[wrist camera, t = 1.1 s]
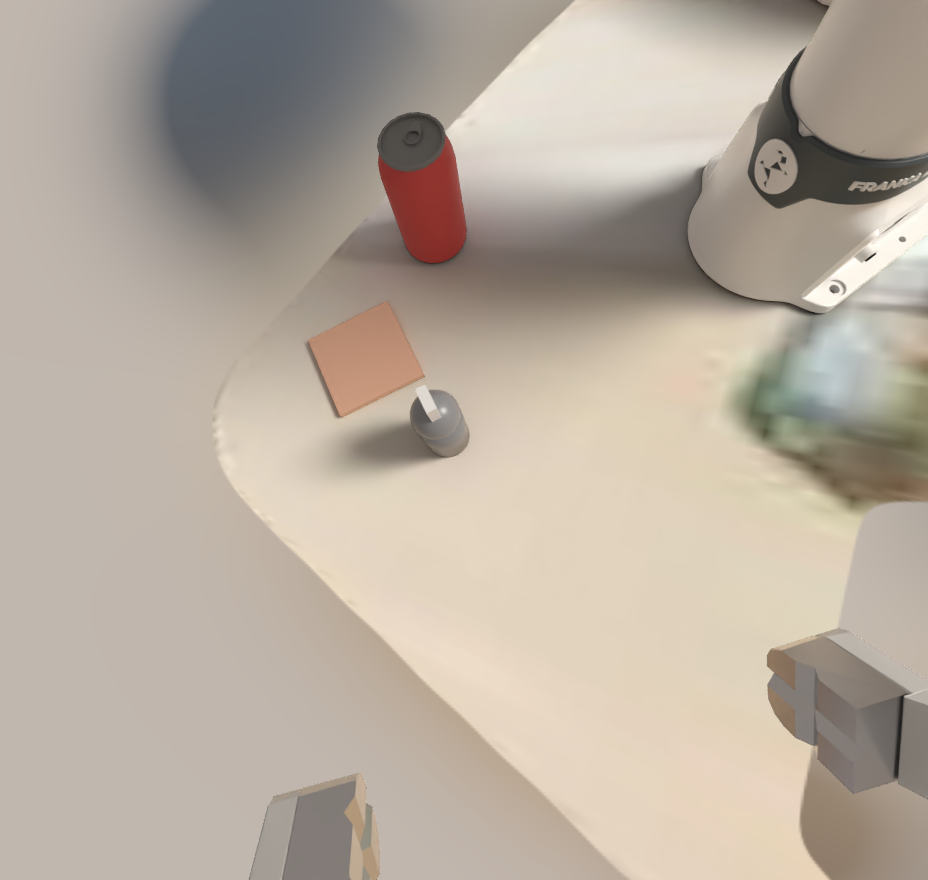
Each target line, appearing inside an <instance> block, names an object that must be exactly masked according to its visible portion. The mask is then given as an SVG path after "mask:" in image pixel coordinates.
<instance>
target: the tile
mask: <svg viewBox="0 0 928 880" xmlns="http://www.w3.org/2000/svg"><path fill="white" fill-rule="evenodd" d="M308 341H309V344H310V346H311V348H312V351H313V353H314V356H315V358H316V360H317V363H318V365H319V367H320V370H321V372H322V374H323V377H324V379H325V382H326V384H327V386H328V389H329V391H330V393H331V396H332V398H333V401H334V403H335V405H336V408H337V410H338V412H339V415H340V416H341V417H344V416H346V415H348V414H350V413H352V412H354V411H356V410H358V409H360V408H362V407H364V406H366V405H368V404H370V403H372V402H374V401H376V400H378V399H380V398H382V397H384V396H386V395H388V394H390V393H392V392H394V391H397V390H399V389H401V388H403V387H405V386H407V385H409V384H411V383H413V382H415V381H417V380H419V379H421V378H423V377H425V376H424V374H423V372H422V370H421V368H420V366H419V364H418V362H417V360H416V358H415V356H414V354H413V352H412V350H411V348H410V346H409V343H408V341H407V339H406V337H405V335H404V333H403V331H402V329H401V327H400V325H399V323H398V321H397V319H396V317H395V315H394V313H393V311H392V309H391V307H390V305H389V303H388V301H386V302H384V303H382V304H380V305H378V306H376V307H374V308H372V309H370V310H368V311H366V312H364V313H362V314H360V315H358V316H356V317H354V318H352V319H350V320H348V321H346V322H344V323H342V324H340V325H338V326H336V327H334V328H332V329H330V330H328V331H325V332H323V333H321V334H319V335H317V336H315V337H313V338H311V339H309V340H308Z"/></svg>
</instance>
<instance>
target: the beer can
mask: <svg viewBox="0 0 928 880" xmlns="http://www.w3.org/2000/svg"><path fill="white" fill-rule="evenodd" d="M377 148H378V152H379V159H378V165H379V172H380V175H381V179H382V182H383V185H384V188H385V190H386V193H387V196H388V199H389V201H390V204H391V207H392V210H393V212H394V215H395V218H396V221H397V223H398V226H399V229H400V232H401V234H402V237H403V240H404V243H405V245H406V248H407V249H408V251H409V252H410V254H411V255H412V256H414V257H415V258H417V259H418V260H420V261H423V262H427V263H439V262H443V261H446V260H448V259H450V258H452V257H453V256H455V255H456V254H457V253H458V252H459V251H460V249H461V248H462V247H463V244H464V242H465V240H466V231H467V229H466V223H465V216H464V210H463V203H462V197H461V190H460V184H459V177H458V171H457V164H456V158H455V154H454V151H453V147H452V145H451V143H450V140H449V139H448V137H447V136H446V134H445V131H444V128H443V126H442V124H441V123H440V122H439V121H438V120H437V119H436V118H434V117H432V116H431V115H428V114H424V113H420V112H415V113H407V114H403V115H400V116H398V117H396V118H395V119H393V120H391V121H390V122H389V123H388V124H387V125H386V126H385V127H384V128H383V129H382V131H381V134H380V136H379V138H378V144H377Z"/></svg>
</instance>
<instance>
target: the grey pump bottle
mask: <svg viewBox="0 0 928 880" xmlns="http://www.w3.org/2000/svg"><path fill="white" fill-rule="evenodd" d="M415 391H416V393H417V395H418V397H417V398H416V399H415V400H414V402H413V404H412V406H411V410H410V420H411V424H412V426H413V428H414V429H415V431H416V432H417V433H418V434H419V435H420V437H421V438H422V439H423V440H424V441H425V443H426V444H427V445H428V446H429V447H430V448H431V450H432V451H433V452H434V453H436V454H437V455H440V456H443V457H453V456H456V455H458V454H460V453H461V452H462V451H463V450H464V449H465V448H466V446H467V444H468V441H469V430H468V427H467V425H466V422H465V420H464V417H463V415H462V412H461V410H460V407H459V405H458V403H457V401H456V400H455V399H454V397H453V396H451V395H450V394H449V393H447V392H445V391H442V390H429V391H428V389H427V387H426V386H425V385H423V386H421V387H419V388H417V389H415Z"/></svg>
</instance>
